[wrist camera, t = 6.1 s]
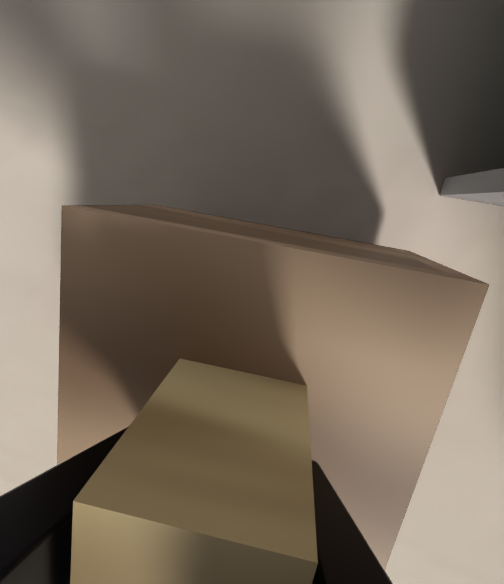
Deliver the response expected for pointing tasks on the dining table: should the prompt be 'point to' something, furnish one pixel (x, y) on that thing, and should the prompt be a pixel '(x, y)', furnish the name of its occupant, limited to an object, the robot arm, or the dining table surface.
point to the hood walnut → (244, 389)
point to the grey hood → (476, 187)
